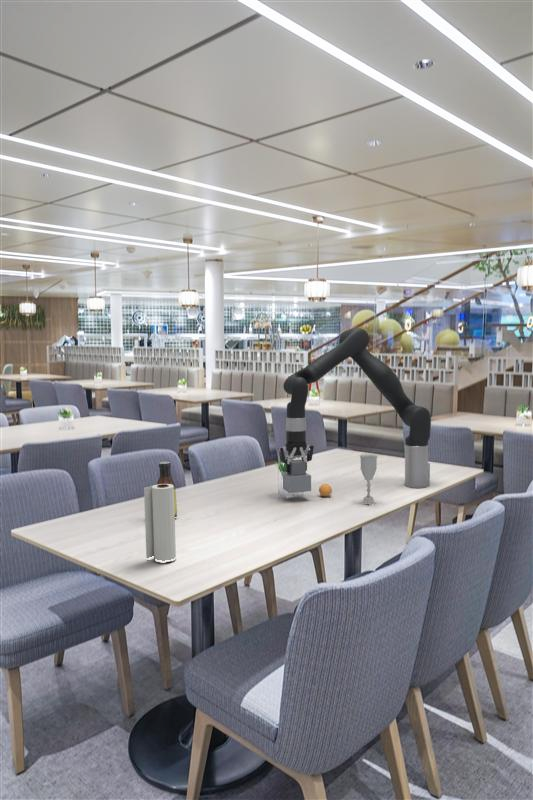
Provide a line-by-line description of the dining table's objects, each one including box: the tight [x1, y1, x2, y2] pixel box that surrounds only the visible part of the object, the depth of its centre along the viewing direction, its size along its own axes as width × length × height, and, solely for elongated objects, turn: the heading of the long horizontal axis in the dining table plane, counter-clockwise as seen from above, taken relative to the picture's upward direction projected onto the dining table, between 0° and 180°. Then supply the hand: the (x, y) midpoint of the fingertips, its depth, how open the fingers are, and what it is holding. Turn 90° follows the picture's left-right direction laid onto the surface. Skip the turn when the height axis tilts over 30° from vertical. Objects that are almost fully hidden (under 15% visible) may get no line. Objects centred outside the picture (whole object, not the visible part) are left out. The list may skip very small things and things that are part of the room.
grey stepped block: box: [282, 458, 312, 494], centre depth 237 cm, size 9×9×11 cm
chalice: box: [359, 453, 378, 506], centre depth 230 cm, size 7×7×18 cm
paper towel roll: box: [143, 484, 177, 561], centre depth 173 cm, size 7×6×21 cm
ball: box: [318, 483, 333, 498], centre depth 241 cm, size 5×5×5 cm
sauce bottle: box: [156, 461, 178, 518], centre depth 213 cm, size 7×6×20 cm
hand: (296, 472), depth 237 cm, fingers closed on grey stepped block, 5 cm apart
